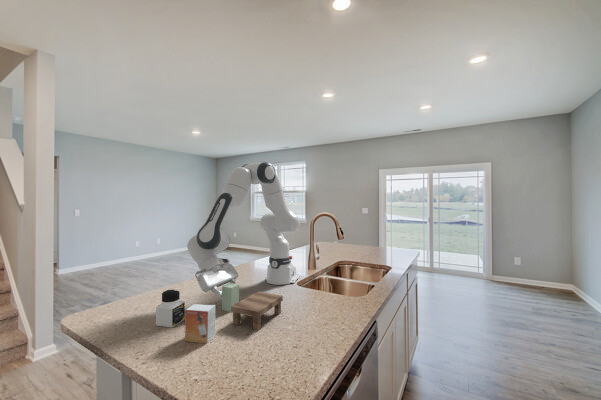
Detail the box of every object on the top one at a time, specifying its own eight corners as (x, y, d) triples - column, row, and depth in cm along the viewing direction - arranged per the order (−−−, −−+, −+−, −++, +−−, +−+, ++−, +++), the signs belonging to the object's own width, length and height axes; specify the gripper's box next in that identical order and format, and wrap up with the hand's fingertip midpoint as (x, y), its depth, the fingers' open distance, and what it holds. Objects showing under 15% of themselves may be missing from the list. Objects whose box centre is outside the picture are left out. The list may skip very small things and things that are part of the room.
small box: (184, 342, 87) (184, 309, 87) (193, 333, 93) (193, 303, 93) (207, 344, 86) (207, 311, 86) (215, 335, 92) (215, 304, 92)
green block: (229, 305, 117) (229, 282, 117) (238, 307, 115) (239, 284, 115) (221, 309, 113) (222, 286, 113) (231, 312, 111) (231, 287, 111)
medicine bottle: (172, 327, 97) (172, 294, 97) (155, 325, 98) (155, 293, 98) (184, 319, 104) (185, 288, 104) (168, 317, 105) (169, 287, 105)
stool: (258, 307, 115) (258, 291, 115) (282, 312, 110) (282, 295, 110) (230, 325, 99) (231, 306, 99) (258, 331, 94) (258, 312, 94)
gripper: (197, 267, 108) (215, 295, 104) (230, 258, 127) (247, 281, 123) (189, 277, 110) (207, 305, 106) (223, 266, 129) (239, 289, 125)
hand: (228, 292), depth 114 cm, fingers open, 8 cm apart
